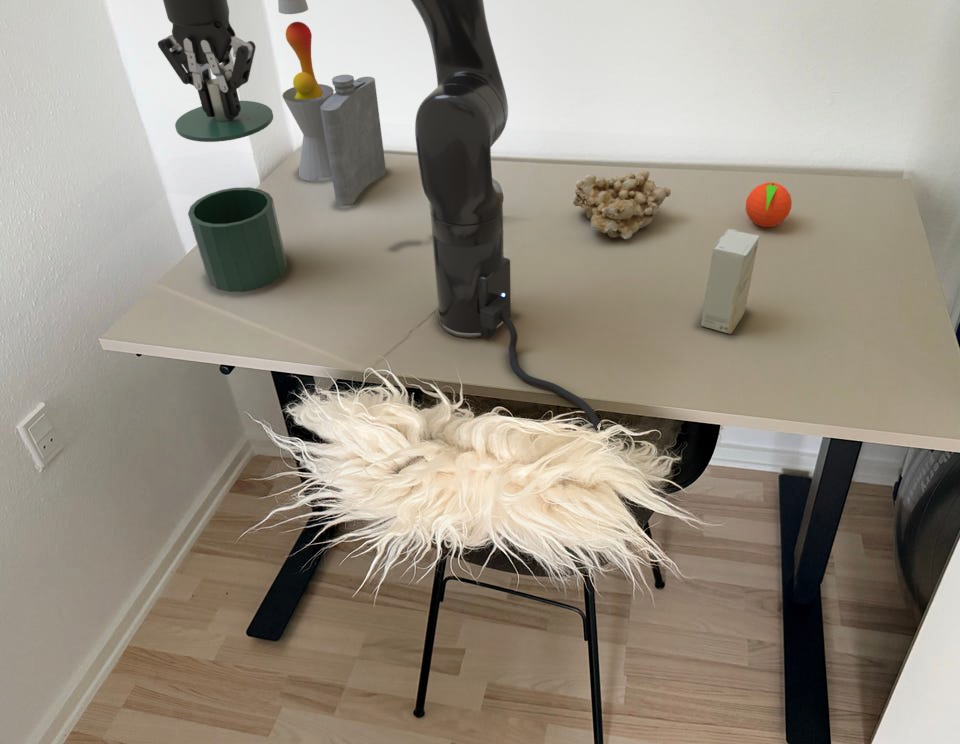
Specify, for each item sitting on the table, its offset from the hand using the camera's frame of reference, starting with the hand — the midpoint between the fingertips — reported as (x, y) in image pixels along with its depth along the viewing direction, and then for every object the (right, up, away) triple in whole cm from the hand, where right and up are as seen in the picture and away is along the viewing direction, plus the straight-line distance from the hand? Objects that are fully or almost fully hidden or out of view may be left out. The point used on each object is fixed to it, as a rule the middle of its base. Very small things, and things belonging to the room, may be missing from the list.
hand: (223, 115), depth 108 cm
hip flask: (+13, -2, +36) cm, 39 cm away
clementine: (+81, -11, +20) cm, 84 cm away
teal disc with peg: (0, -1, +1) cm, 1 cm away
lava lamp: (+5, +3, +42) cm, 43 cm away
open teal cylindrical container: (-1, -20, +15) cm, 25 cm away
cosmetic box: (+68, -28, +1) cm, 74 cm away
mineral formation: (+59, -11, +23) cm, 64 cm away
